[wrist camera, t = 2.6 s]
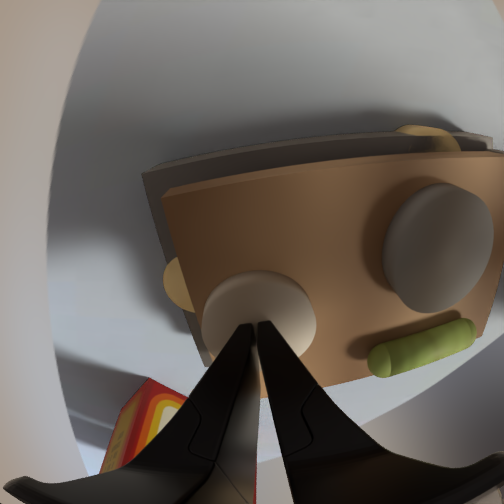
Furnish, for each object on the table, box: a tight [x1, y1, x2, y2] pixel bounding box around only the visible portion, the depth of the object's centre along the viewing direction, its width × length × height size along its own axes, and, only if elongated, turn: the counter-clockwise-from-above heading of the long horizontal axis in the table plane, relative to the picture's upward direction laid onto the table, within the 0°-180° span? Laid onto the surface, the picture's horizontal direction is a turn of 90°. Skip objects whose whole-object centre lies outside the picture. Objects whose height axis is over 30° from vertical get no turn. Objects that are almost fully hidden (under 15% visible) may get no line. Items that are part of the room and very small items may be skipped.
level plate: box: [161, 149, 504, 398], centre depth 10 cm, size 14×9×3 cm, turn 100°
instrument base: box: [142, 125, 493, 367], centre depth 13 cm, size 16×11×2 cm
